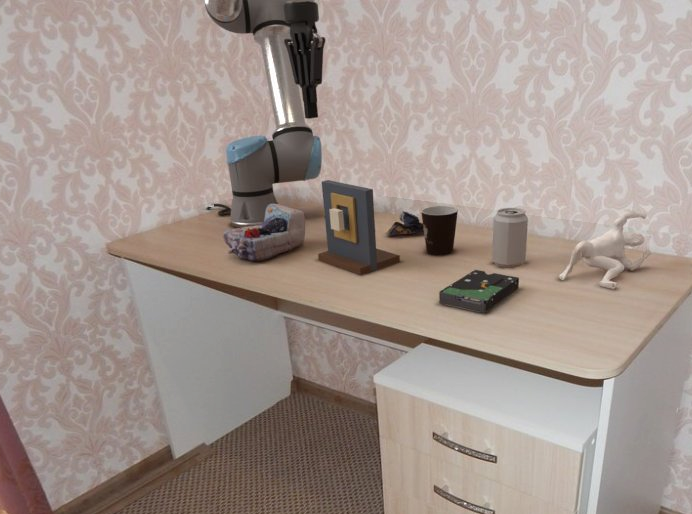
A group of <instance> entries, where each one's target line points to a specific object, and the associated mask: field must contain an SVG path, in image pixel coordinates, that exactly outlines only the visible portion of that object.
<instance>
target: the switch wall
mask: <svg viewBox="0 0 692 514" xmlns="http://www.w3.org/2000/svg"><path fill="white" fill-rule="evenodd" d="M321 189H322V191H321V192H322V202H323V212H324V213H323V214H324V221H325V222H324V223H325V232H326V243H327V250H325V251H322V252H319V253H317V258H318V261H320V262H323V263H325V264H329V265H331V266H334V267H336V268H340V269H343V270H346V271H347V272H350V273H352V274H353V273H354V274H355V275H359V276H363V275H365V274H368V273H371V272H374V271H378V270H379V269H382V268H386V267H389V266H392V265H396V264H398V263H400V262H401V255H399V254H396V253H393V252H390V251H386V250H383V249H380V248H377V239H376V238H377V237H376V220H375V205H374V204H375V203H374V189H373V188H368V187H364V186H360V185H353V184H349V183H344V182H340V181H335V180H329V179H326V180H322V181H321ZM333 208H335V209H339V210H343V218H344V230H342V231H337V230H334V229H331V222H330V211H329V209H333Z"/></svg>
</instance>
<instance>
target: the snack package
mask: <svg viewBox="0 0 692 514" xmlns="http://www.w3.org/2000/svg"><path fill="white" fill-rule="evenodd" d="M421 231H424V228H423V222H420V219H419V217H418V216H417V215H415V214H413V213H409V212H408V211H405V210H402V211H401V213H400V214H399V221H395V222H393V224H392V225H391V227H390V228H389V229H388V230H387V232H385V235H386V237H387V238H388V237H389V236H393V235H411V234H416V233H419V232H421Z"/></svg>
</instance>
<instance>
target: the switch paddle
mask: <svg viewBox="0 0 692 514" xmlns="http://www.w3.org/2000/svg"><path fill="white" fill-rule="evenodd" d="M329 211H330V222H331V229H334V230H337V231H342V230H344V218H343V210H339V209H335V208H333V209H329Z"/></svg>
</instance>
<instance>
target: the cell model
mask: <svg viewBox="0 0 692 514" xmlns="http://www.w3.org/2000/svg"><path fill="white" fill-rule="evenodd" d="M305 219H306V218H305V214H304V211H301V210H299V209H296V208H293V207H290V206H287V205H283V204H279V203H278V204H270V205H269V206H267V208H266V212H265V220H264V223H263V224H262V225H257V226H249V227H242V228H231V229H226V230H224V232H223V233H222V238H223V241H224V243H225V244H226V245H227V246H228V248H229V249H230V250H228V251H227V254H228V255H231V254H234V255H235V256H236V257H238V258H239V259H241V260H245V261H246V260H247V261H251V262H260V261H266V260H269V259H272V258H274V257H275V256H277V255H279V254H281V253H286V252H287V251H289V252H290V251H292V250H293V249H294V248H296V247H299V246H302V245H304V243H305V236H306V221H305Z"/></svg>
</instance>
